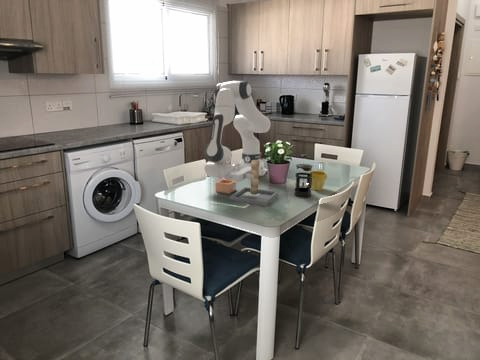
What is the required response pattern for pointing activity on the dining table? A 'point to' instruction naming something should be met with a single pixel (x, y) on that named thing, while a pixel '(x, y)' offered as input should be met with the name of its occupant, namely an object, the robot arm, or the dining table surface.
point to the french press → (300, 189)
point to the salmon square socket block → (225, 186)
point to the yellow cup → (318, 179)
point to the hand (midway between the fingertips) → (256, 175)
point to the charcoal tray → (260, 200)
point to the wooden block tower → (255, 180)
